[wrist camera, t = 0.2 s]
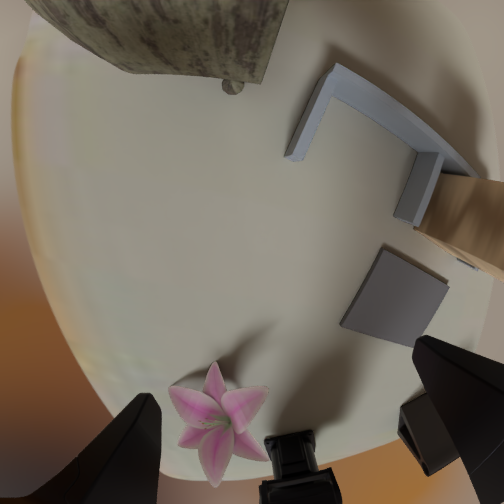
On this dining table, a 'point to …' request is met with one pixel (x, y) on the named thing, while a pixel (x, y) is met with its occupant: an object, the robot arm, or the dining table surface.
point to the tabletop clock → (174, 35)
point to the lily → (219, 422)
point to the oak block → (468, 221)
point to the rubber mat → (395, 301)
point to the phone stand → (426, 435)
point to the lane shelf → (396, 121)
